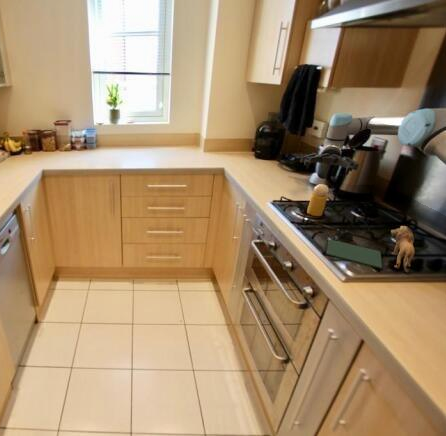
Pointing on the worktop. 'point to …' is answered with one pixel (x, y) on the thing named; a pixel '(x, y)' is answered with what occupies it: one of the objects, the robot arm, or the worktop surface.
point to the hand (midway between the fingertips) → (327, 168)
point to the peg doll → (318, 200)
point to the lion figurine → (403, 246)
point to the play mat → (354, 253)
